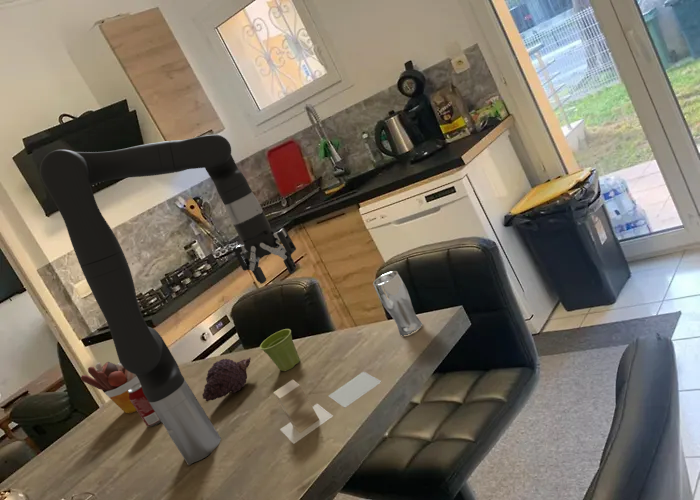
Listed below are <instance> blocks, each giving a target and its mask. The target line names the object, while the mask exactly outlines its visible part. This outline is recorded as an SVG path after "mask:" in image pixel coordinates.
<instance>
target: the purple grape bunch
mask: <svg viewBox="0 0 700 500" xmlns="http://www.w3.org/2000/svg"><path fill="white" fill-rule="evenodd" d="M250 363H251V357H249V358H246V359H243V360H239V361H237V362H236V361H234V360H233V359H230V358H229V359H228V358H225V359H224V358H223V359H219V361H215V362H214V363H213V364H212V366H211V367H210V368H209V369H208V370H207V375H206V377H205V381H206V383H205V384H204V388H203V393H202V399H203V400H205V401H206V402H207V403H208V402H209V401H214V400H216V399H220V398H223V397H226V396H227V395H228V394H230V393H232V394H236V393H237V392H239V391H240V390H242V388H244V387H245V385H246V384H247V379H248V374H247V368H249V366H250Z"/></svg>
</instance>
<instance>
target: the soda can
mask: <svg viewBox="0 0 700 500" xmlns="http://www.w3.org/2000/svg"><path fill="white" fill-rule="evenodd" d="M128 393H129V399H130V401H131V402H132V404H133V405H134V407H135V408H136V410H137V414H138V415H139V416H140V418H141V419H142V421H143V423H144V424H145V426H147V427H155V426H157V425H159V424H160V423H162V422H161V420H160V419H159V417H158V415H157V414H156V412H155V411H154V409H153V407H152V406H151V404H150V403H149V401H148V400H147V398H146V397H145V395H144V393H143V390H142V386H141V384H140V382H139V383H137V384H135V385H134V386H132V387H131V388H130V389H129V390H128Z"/></svg>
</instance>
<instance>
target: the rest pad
mask: <svg viewBox="0 0 700 500" xmlns="http://www.w3.org/2000/svg"><path fill="white" fill-rule="evenodd" d="M381 381H382V380H380V379H378V378H377V377H375V376H372V375H371V374H369V373H368V372H366V371H362V372H360V373H359V374H358V375H357V376H355V377H354V378H352V379H351V380H349V381H348V382H346V383H344V384H343V385H342V386H341V387H339V388H337V389H335V390H334V392H331V393H330V394H329V395H328V397H329V398H331V399H332V400H333V401H334V402H336V403H337V404H338V405H340V406H341V407H343V408H347V407H348V406H349V405H351V404H353V403H354V402H355V401H357V400H358V399H359V398H361V397H362V396H364V395H365V394H367V393H368V392H370V391H371V390H372V389H374V388H375V387H377V386H378V385H379V384H381V383H382V382H381ZM380 382H381V383H380Z"/></svg>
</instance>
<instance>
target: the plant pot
mask: <svg viewBox="0 0 700 500" xmlns="http://www.w3.org/2000/svg"><path fill="white" fill-rule="evenodd" d="M294 343H295V342H294V341H293V336H292V330H291V329H290V328H285V329H281V330H279V331H276V332H275V333H273V334H271V335H270V336H268V337H267V338H266V339H264V340H263V341H262V342H261V344H260V345H259V349H260V350H261V351H263V352H264V353H265V354H266V355H267V356H268V357H269V358H270V360H272V362H273V363H274V364H275V366H276V367H277V369H279V371H282V372H286V371H289V370H291V369H293V368H295V365H297V364H299V363H300V361H301V358H300V356H299V354H298V351H297V348H296V346H295V344H294Z"/></svg>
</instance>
